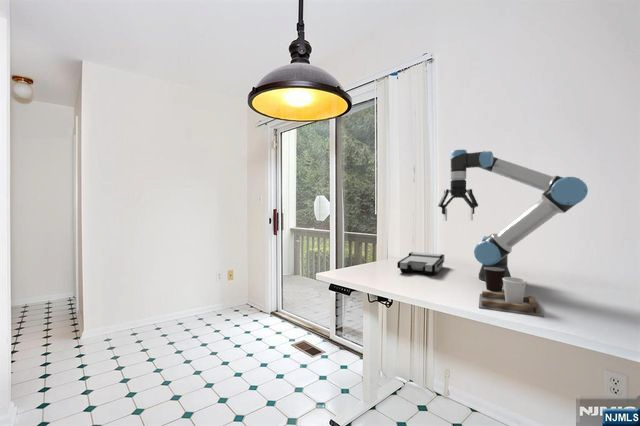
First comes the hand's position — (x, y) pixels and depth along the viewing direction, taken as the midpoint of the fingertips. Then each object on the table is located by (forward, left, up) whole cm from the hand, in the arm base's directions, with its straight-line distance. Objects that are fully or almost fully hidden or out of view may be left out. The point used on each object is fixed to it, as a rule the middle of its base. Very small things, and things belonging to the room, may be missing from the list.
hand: (457, 220), depth 163 cm
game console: (+10, -25, -32) cm, 42 cm away
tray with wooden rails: (-2, +39, -32) cm, 50 cm away
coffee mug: (-10, +18, -32) cm, 38 cm away
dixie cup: (-4, +40, -31) cm, 51 cm away
